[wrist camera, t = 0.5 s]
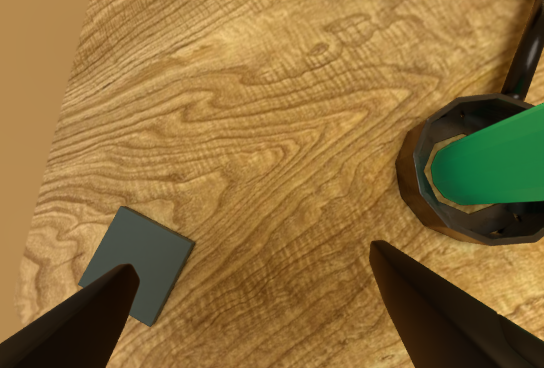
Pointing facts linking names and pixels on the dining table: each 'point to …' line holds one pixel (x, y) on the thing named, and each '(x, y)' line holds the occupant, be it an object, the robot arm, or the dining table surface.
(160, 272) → the coaster
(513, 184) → the candle
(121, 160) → the dining table surface
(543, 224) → the pan
